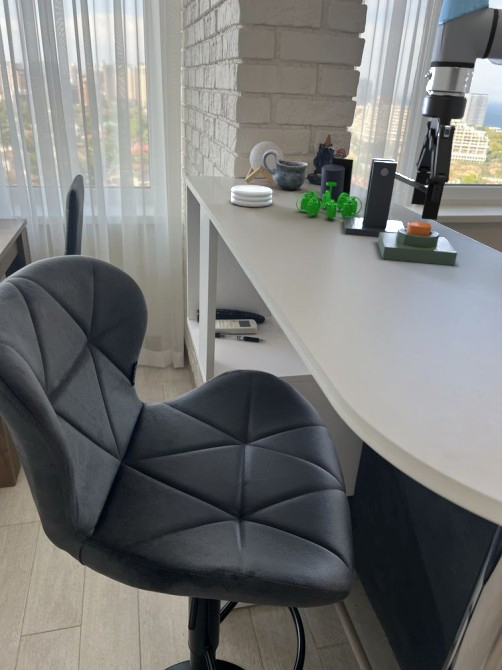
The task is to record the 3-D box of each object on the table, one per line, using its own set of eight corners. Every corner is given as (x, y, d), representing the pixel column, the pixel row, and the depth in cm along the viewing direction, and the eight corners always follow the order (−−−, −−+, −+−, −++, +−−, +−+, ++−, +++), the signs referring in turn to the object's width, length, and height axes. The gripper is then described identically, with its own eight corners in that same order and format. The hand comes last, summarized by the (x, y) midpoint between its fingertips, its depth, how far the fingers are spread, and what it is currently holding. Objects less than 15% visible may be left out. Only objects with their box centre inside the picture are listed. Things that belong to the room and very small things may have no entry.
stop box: (442, 248, 95) (447, 227, 93) (454, 265, 86) (459, 242, 84) (377, 243, 96) (381, 222, 94) (382, 259, 87) (386, 236, 85)
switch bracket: (399, 226, 109) (412, 159, 102) (406, 239, 100) (420, 166, 94) (343, 222, 110) (352, 155, 104) (344, 233, 101) (354, 161, 95)
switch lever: (426, 195, 103) (433, 184, 102) (431, 200, 98) (437, 188, 97) (372, 171, 102) (378, 159, 101) (374, 174, 98) (380, 162, 97)
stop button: (427, 232, 91) (429, 222, 90) (431, 238, 87) (433, 227, 86) (404, 230, 91) (406, 220, 90) (407, 236, 88) (409, 226, 87)
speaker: (331, 195, 135) (336, 155, 130) (349, 200, 132) (354, 159, 127) (314, 201, 131) (318, 160, 125) (332, 206, 127) (337, 164, 122)
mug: (308, 192, 139) (312, 154, 134) (263, 190, 138) (265, 152, 133) (302, 186, 147) (305, 149, 143) (259, 184, 146) (261, 147, 142)
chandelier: (355, 208, 123) (359, 179, 120) (365, 223, 109) (371, 191, 106) (293, 205, 123) (296, 175, 120) (296, 219, 110) (299, 186, 106)
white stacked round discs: (258, 209, 117) (259, 194, 115) (222, 203, 121) (223, 188, 119) (279, 203, 124) (280, 188, 123) (244, 197, 129) (245, 182, 127)
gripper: (415, 93, 104) (396, 197, 113) (438, 94, 82) (413, 224, 91) (452, 95, 103) (430, 200, 112) (486, 96, 81) (456, 227, 90)
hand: (423, 211), depth 102 cm, fingers open, 13 cm apart
